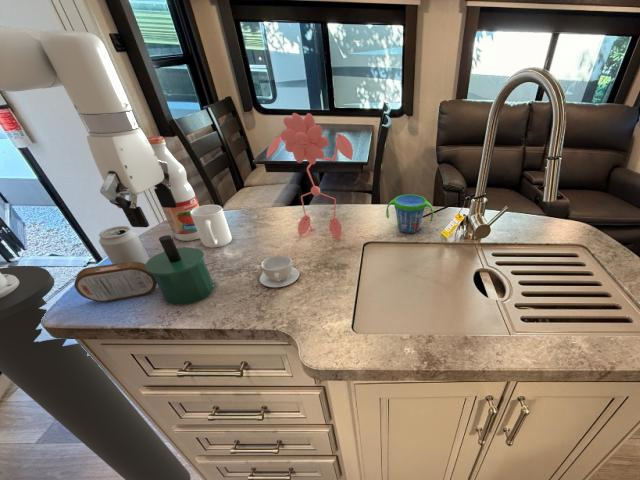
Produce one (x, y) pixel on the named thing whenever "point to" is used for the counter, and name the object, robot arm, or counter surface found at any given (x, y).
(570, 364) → the counter surface
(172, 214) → the fruit juice
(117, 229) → the can
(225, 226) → the cup
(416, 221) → the snack cup
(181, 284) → the cup
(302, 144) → the figurine
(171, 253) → the tin lid
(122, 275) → the tin
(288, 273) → the teacup
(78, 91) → the robot arm
